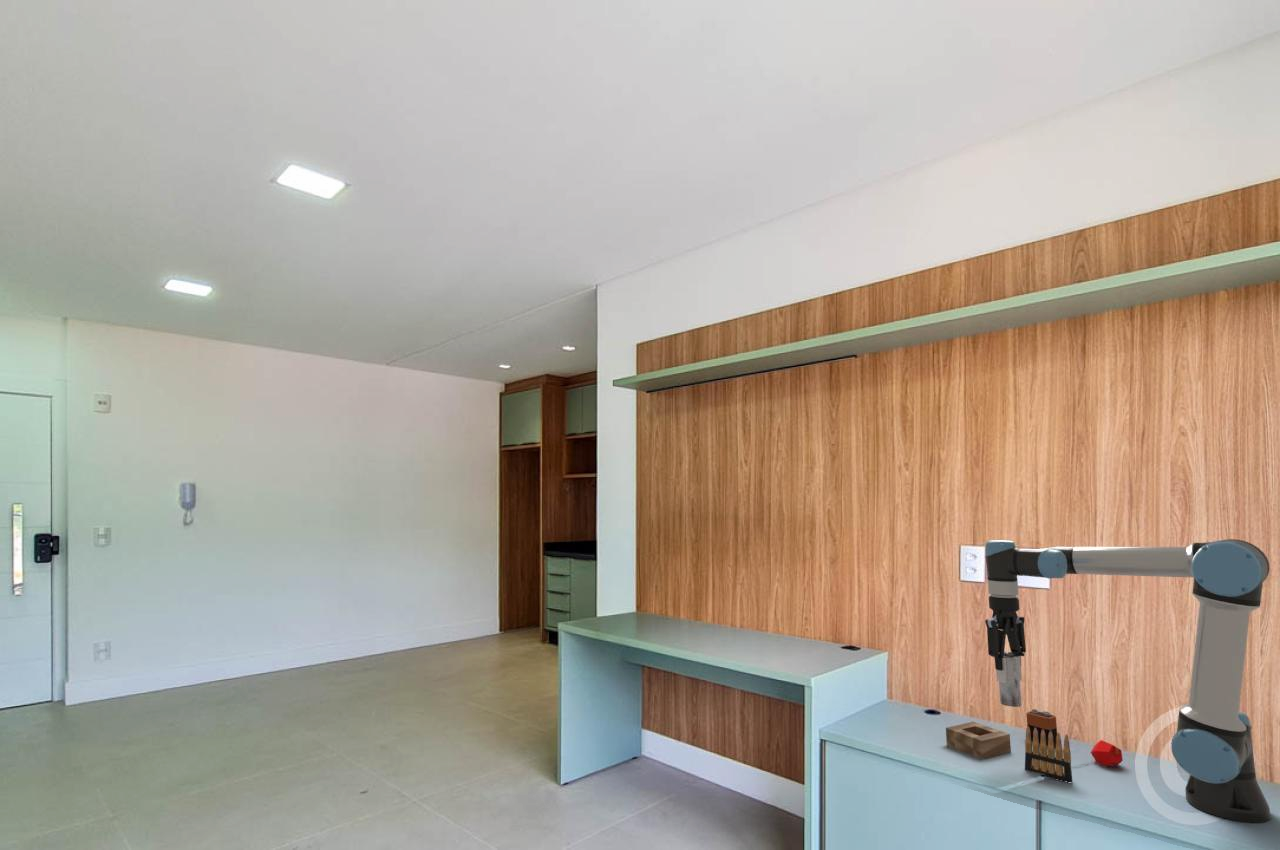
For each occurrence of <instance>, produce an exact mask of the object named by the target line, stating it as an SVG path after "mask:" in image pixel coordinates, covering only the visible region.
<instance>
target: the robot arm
mask: <svg viewBox="0 0 1280 850" xmlns="http://www.w3.org/2000/svg"><path fill="white" fill-rule="evenodd" d="M984 558H985V563H986V575H987V578H986V579H987V588H988V589H987V590H988V594H989V595H988V606H989V609H990V610H992V615H991V618H990V619H988V618H986V619H985V620H984V622H985V625H986V634H987V651H988V652H987V654H988V655H989V656H990V657H992V658H994V667H995V668H994V669H995V670H996V672H995V673H996V674H995V675H996V681H997V682H998V683H999V682H1002V683H1008V680H1007V666H1006V659H1005V658H1004V652H1005V646H1006V638H1007V641H1008V645H1009V649H1010V652H1011V653H1012V654H1013V655H1017V656H1018V661H1019V675H1020V682H1021V681H1022V680H1023V679H1022V661H1021V660H1022V659H1021V657H1025V653H1026V652H1027V648H1026V635H1025V617H1024V616H1019V615H1018V614H1017V612H1019V610H1020V598H1019V597H1018V596H1019V581H1018V576H1020V577H1022V576H1023V577H1036V578H1044V579H1045V578H1046V579H1048V580H1049V579H1063V578H1065V576H1066V575H1099V576H1127V577H1129V576H1133V577H1134V576H1135V577H1160V578H1161V577H1162V578H1163V577H1164V578H1166V577H1168V578H1192V579H1193V583H1192V584H1193V585H1192V591H1191V592H1192V596H1194V597H1195V598H1196V600H1198V602H1199V607H1198V617H1197V627H1196V633H1195V643H1194V653H1193V661H1192V669H1191V670H1192V671H1191V678H1190V679H1191V680H1190V688H1189V689H1190V690H1189V697H1188V703H1186V704H1184V705H1182V706H1180V707H1179V709H1178V718H1177V727H1176V733H1175V734H1174V735H1173V736H1172V737H1171V744H1170V747H1171V749H1170V750H1171V753H1172V756H1173V758H1174V760H1175V761H1176V763H1177V764H1178V765H1179V766H1180V768H1181V769H1182V770H1184V772H1186V773H1187V774H1188V775H1189V776H1188V779H1187V783H1186V785H1185V789H1184V790H1185V800H1186V801H1187V803H1188V804H1190V805H1191V806H1193V807H1194V808H1196V809H1198V810H1200V811H1201V812H1205V813H1207V814H1210V815H1212V816H1216V817H1219V818H1223V819H1227V820H1230V821H1231V820H1232V821H1238V822H1243V823H1244V822H1246V823H1264V822H1265V823H1266V822H1268V821H1269V820H1270V819H1271V810H1270V809H1271V808H1270V805H1269V804H1268V801H1267V799H1266V797H1265V795H1264V793H1263V791H1262V790H1261V789H1262V788H1261V787H1260V785H1259V783H1258V781H1257V775H1256V774H1257V773H1256V764H1255V758H1254V757H1255V756H1254V748H1253V738H1252V729H1253V728H1252V725H1251V722H1250V717H1249V716H1248V715H1247V714H1246V713H1244V712H1242V711H1240V704H1241V694H1242V686H1243V678H1244V667H1245V659H1246V652H1247V651H1246V649H1247V640H1248V633H1249V626H1250V616H1251V615H1250V614H1251V613H1252V612H1253V611H1255V610H1258V609H1259V608H1260V607H1261V602H1262V594H1263V587H1264V582H1265V581H1266V579H1267V578H1268V576H1269V574H1270V570H1271V569H1270V568H1271V567H1270V562H1269V559H1268V557H1267V556H1266V554H1265V553H1264V551H1262V550H1261V549H1260V548H1259V547H1257V546H1256V545H1254V544H1253V543H1251V542H1249V541H1245V540H1243V539H1242V540H1241V539H1235V538H1233V539H1232V538H1231V539H1230V538H1228V539H1223V540H1216V541H1215V540H1214V541H1212V542H1211V541H1209V542H1208V541H1207V542H1192V543H1191V544H1190V545H1188V546H1062V545H1056V546H1055V545H1054V546H1051V547H1045V548H1044V547H1043V548H1038V549H1037V548H1033V549H1032V548H1018V547H1017V546H1016V544H1015V542H1014V541H1013V540H1003V539H1001V540H1000V539H999V540H998V539H997V540H996V539H995V540H993V539H992V540H988V541H986V543H985V555H984Z"/></svg>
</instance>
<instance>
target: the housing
mask: <svg viewBox="0 0 1280 850" xmlns="http://www.w3.org/2000/svg"><path fill="white" fill-rule="evenodd" d="M945 737H946V739H945V740H946V746H947V747H950V748H952V749H954V750H957V751H960V752H962V753H965V754H967V755H970V756H972V757H975V758H978V759H980V760H986V759H990V758H991V759H992V758H993V757H994V758H995V757H998V756H1002V755H1005V754H1009V753H1012V748H1011V746H1012V745H1011V735H1010V733H1007V732H1005V731H1001V730H999V729H996V728H993V727H991V726H988V725H984V724H981V723H979V722H976V721H970V722H966V723H961V724H957V725H952V726H946V727H945Z"/></svg>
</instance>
